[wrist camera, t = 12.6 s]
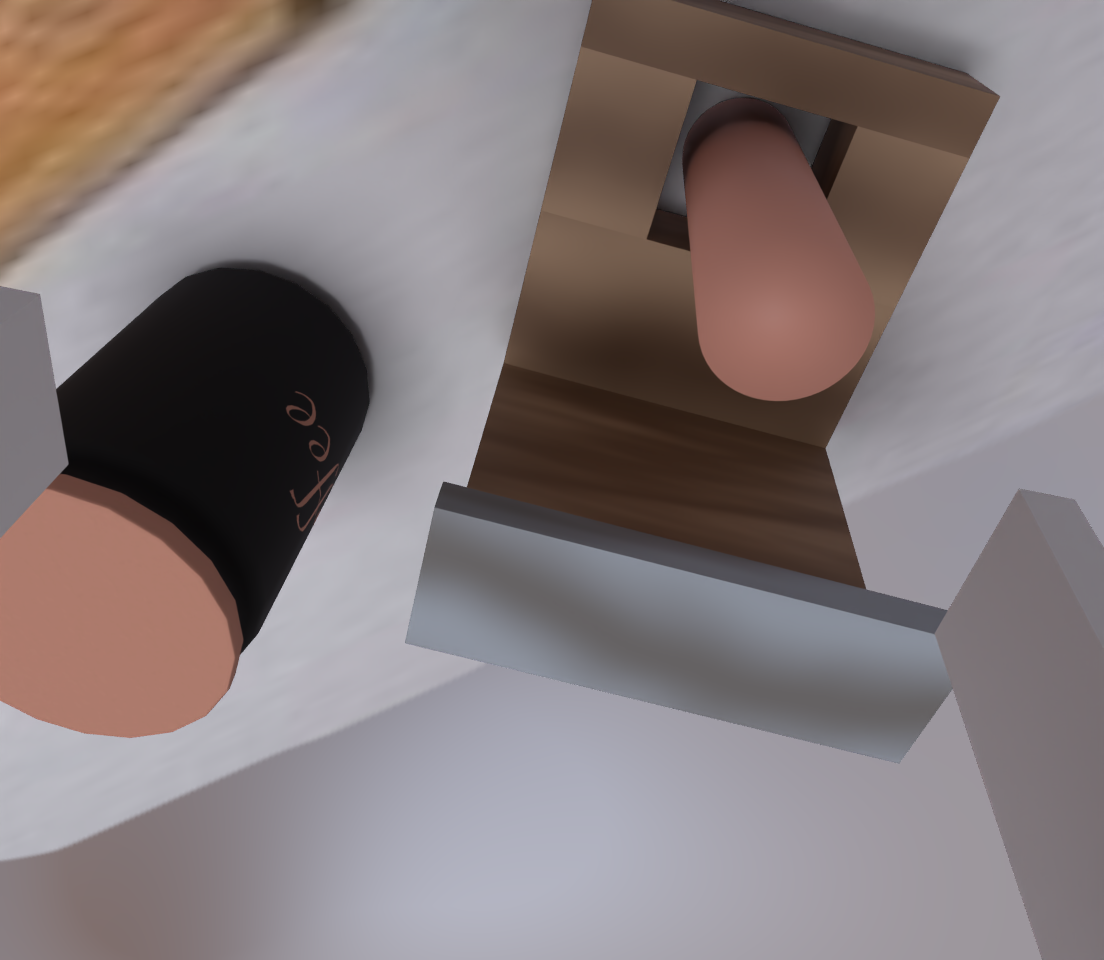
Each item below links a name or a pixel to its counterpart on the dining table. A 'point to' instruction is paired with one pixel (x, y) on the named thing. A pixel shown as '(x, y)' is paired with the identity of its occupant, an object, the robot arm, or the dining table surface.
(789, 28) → the station
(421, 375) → the dining table surface
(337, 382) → the coffee jar
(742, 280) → the peg
